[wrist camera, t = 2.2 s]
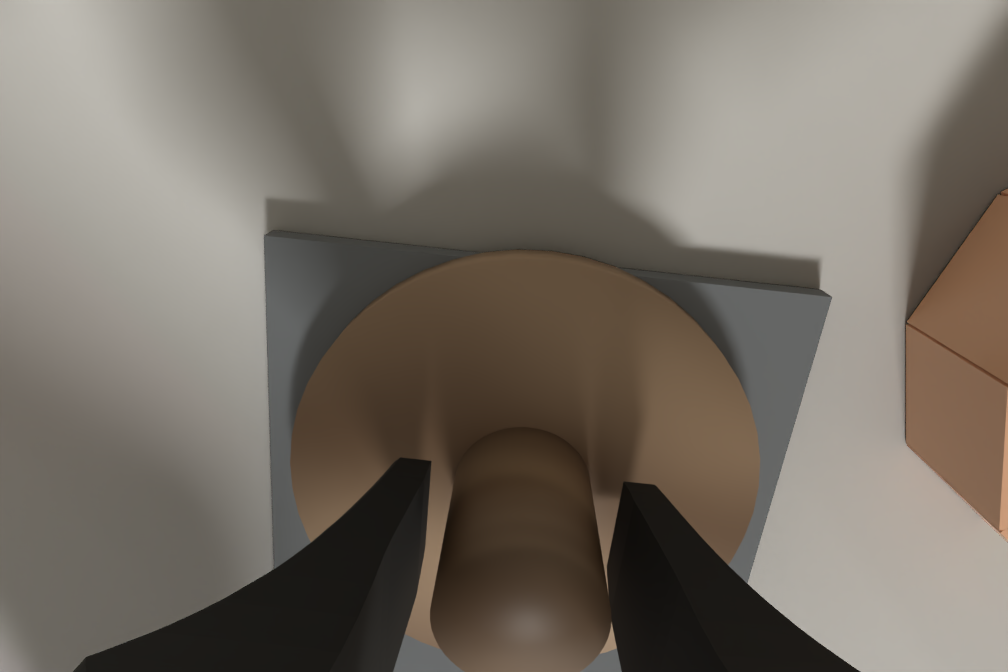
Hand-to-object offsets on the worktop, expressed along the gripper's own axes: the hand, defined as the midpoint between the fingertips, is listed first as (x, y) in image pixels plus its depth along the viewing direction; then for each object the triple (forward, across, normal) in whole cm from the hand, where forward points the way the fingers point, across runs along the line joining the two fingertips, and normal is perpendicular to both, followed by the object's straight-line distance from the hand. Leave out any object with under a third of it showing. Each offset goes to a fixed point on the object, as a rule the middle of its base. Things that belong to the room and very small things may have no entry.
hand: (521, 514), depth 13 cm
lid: (+2, 0, 0) cm, 2 cm away
